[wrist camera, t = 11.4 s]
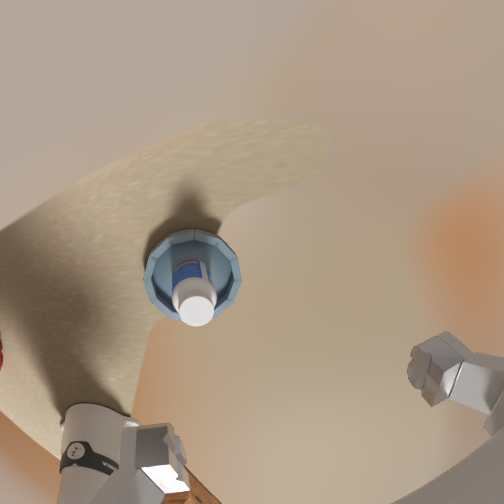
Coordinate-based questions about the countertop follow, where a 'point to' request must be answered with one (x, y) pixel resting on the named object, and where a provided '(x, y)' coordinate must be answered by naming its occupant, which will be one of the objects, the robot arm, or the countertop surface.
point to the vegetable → (1, 357)
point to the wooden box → (191, 494)
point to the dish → (191, 247)
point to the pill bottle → (193, 292)
